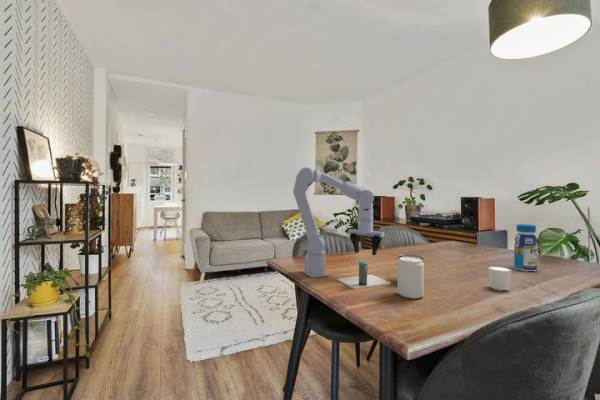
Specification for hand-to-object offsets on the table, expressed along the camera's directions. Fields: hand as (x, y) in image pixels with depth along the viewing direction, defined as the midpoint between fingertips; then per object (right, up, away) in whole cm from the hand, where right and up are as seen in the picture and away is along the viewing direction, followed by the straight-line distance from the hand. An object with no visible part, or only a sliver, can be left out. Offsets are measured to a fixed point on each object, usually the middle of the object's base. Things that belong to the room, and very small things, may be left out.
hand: (365, 253), depth 119 cm
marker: (-4, -9, -12) cm, 16 cm away
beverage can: (+10, -10, -22) cm, 26 cm away
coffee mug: (+16, -10, -5) cm, 20 cm away
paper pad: (-2, -10, -7) cm, 12 cm away
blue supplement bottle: (+74, -10, +12) cm, 76 cm away
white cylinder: (+45, -10, -14) cm, 48 cm away
